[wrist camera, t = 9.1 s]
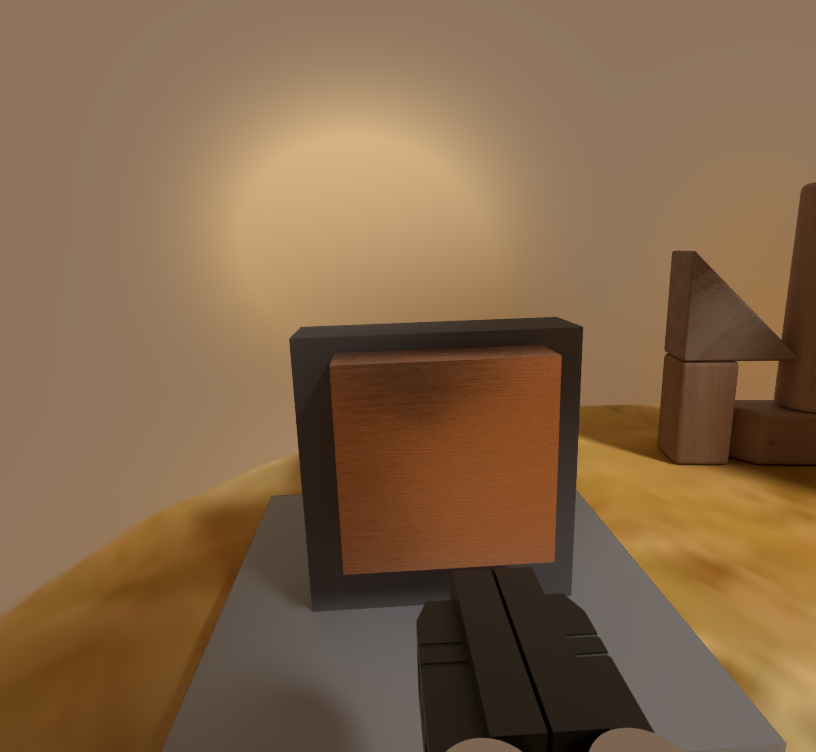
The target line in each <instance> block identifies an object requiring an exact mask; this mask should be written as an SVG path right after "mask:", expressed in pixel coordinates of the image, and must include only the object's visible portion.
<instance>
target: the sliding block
mask: <svg viewBox="0 0 816 752" xmlns="http://www.w3.org/2000/svg"><path fill="white" fill-rule="evenodd" d="M561 360H562V356H561V355H559V354H558V353H556V352H554V351H552V350H551V349H549V348H547V347H546V346H544V345H542V344H541V345H517V346H493V347H469V348H445V349H421V350H397V351H373V352H348V353H334V356H333V358H332V361H331V363H330V365H329V368H330V383H331V398H332V412H333V427H334V442H335V457H336V472H337V487H338V501H339V516H340V531H341V546H342V561H343V575H349V574H366V573H383V572H399V571H416V570H432V569H449V568H465V567H482V566H498V565H515V564H531V563H548V562H554V561H555V532H556V503H557V475H558V446H559V417H560V389H561Z"/></svg>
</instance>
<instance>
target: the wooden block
mask: <svg viewBox="0 0 816 752" xmlns="http://www.w3.org/2000/svg"><path fill="white" fill-rule="evenodd" d="M668 300H669V301H668V313H667V324H666V337H665V351H666V352H667V353H668V354H666V355H665V357H664V368H663V381H662V394H661V406H660V418H659V431H658V443H657V444H658V447H659V448H660V449H661V450H662V451H663V452H664V453H665V454H666V455H667V456H668V457H669V458H670V460H671V461H672V462H673V463H676V464H727V462H728V457H732V458H736V459H740V460H744V461H748V462H752V463H756V464H798V465H816V183H811V184H807V185H805V186H804V187H803V188H802V190H801V195H800V202H799V210H798V218H797V225H796V233H795V241H794V248H793V256H792V264H791V271H790V279H789V287H788V294H787V302H786V310H785V318H784V325H783V333H782V340H781V339H779V337H778V336H777V335H776V334H775V333H774V332H773V331H772V330H771V329H770V328H769V327H768V326H767V325H766V324H765V323H764V322H763V321H762V320H761V319H760V318H759V317H758V316H757V314H755V312H754V311H753V310H752V309H751V308H750V307H749V306H748V305H747V304H746V303H745V302H744V301H743V300H742V299H741V298H740V297H739V296H738V295H737V294H736V293H735V292H734V291H733V290H732V289H731V288H730V287H729V286H728V285H727V283H726V282H725V281H723V279H722V278H721V277H720V276H719V275H718V274H717V273H716V272H715V271H714V270H713V269H712V268H711V267H710V266H709V265H708V264H707V263H706V262H705V261H704V260H703V259H702V258H701V257H700V256H699V255H698V253H697V252H696V251H673V252H672V261H671V275H670V287H669V299H668ZM736 361H779V363H778V371H777V379H776V387H775V394H774V400H735V393H736V385H737V376H738V363H737V362H736Z"/></svg>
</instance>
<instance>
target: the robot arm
mask: <svg viewBox="0 0 816 752" xmlns="http://www.w3.org/2000/svg"><path fill="white" fill-rule="evenodd" d="M416 630H417V664H418V694H419V706H420V717H421V729H422V740H423V751H424V752H685V751H684V750H682V749H681V748H680V747H679V746H677V745H676V744H674V743H673V742H671V741H669V740H668V739H666V738H664V737H662V736H660V735H658V734H655V732H654V731H653V729H652V727H651V725H650V724H649V722H648V720H647V718H646V717H645V715H644V713H643V712H642V710H641V708H640V706H639V705H638V703H637V701H636V699H635V698H634V696H633V694H632V692H631V691H630V689H629V687H628V685H627V684H626V682H625V680H624V678H623V677H622V675H621V673H620V672H619V670H618V668H617V666H616V665H615V663H614V661H613V659H612V658H611V656H610V657H609V655H608V651H607V649H606V647H605V645H604V644H603V642H602V640H601V638H600V637H598V635H597V631H596V630H595V628H594V626H593V625H592V623H591V621H590V619H589V618H588V616H587V614H586V612H585V611H584V610H583V609H582V608H580V607H579V606H578V605H577V604H576V603H574V602H573V601H572V600H571V599H569V598H568V597H567V596H566V595H565V594H563V593H558V594H545V593H544V591H543V589H542V587H541V585H540V583H539V581H538V579H537V577H536V575H535V573H534V571H533V569H532V568H531V567H513V568H496V569H491V571H490V569H481V570H463V571H451V573H450V600H441V601H426V602H425V604H424V606H423V608H422V610H421V612H420V615H419V617H418V619H417V621H416Z"/></svg>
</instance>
